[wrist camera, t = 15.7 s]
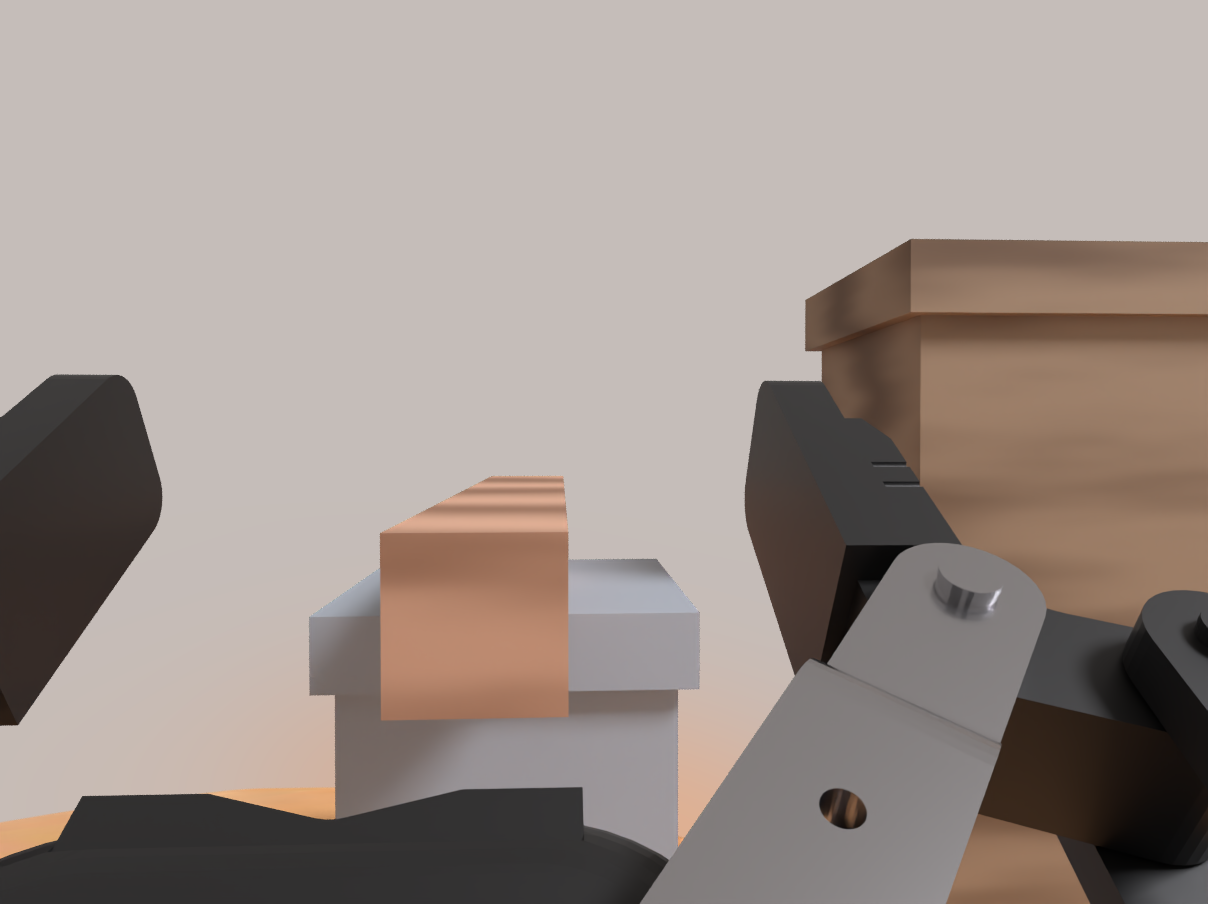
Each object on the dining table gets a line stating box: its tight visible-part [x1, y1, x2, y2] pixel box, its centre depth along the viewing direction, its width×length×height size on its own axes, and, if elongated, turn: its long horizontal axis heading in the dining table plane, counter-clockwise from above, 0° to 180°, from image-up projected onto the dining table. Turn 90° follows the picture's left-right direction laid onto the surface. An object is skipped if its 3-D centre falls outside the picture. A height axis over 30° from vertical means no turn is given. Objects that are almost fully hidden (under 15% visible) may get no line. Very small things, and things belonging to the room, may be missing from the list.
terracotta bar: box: [380, 476, 569, 721], centre depth 25 cm, size 22×3×3 cm, turn 3°
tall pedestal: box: [805, 239, 1208, 904], centre depth 29 cm, size 10×10×32 cm
